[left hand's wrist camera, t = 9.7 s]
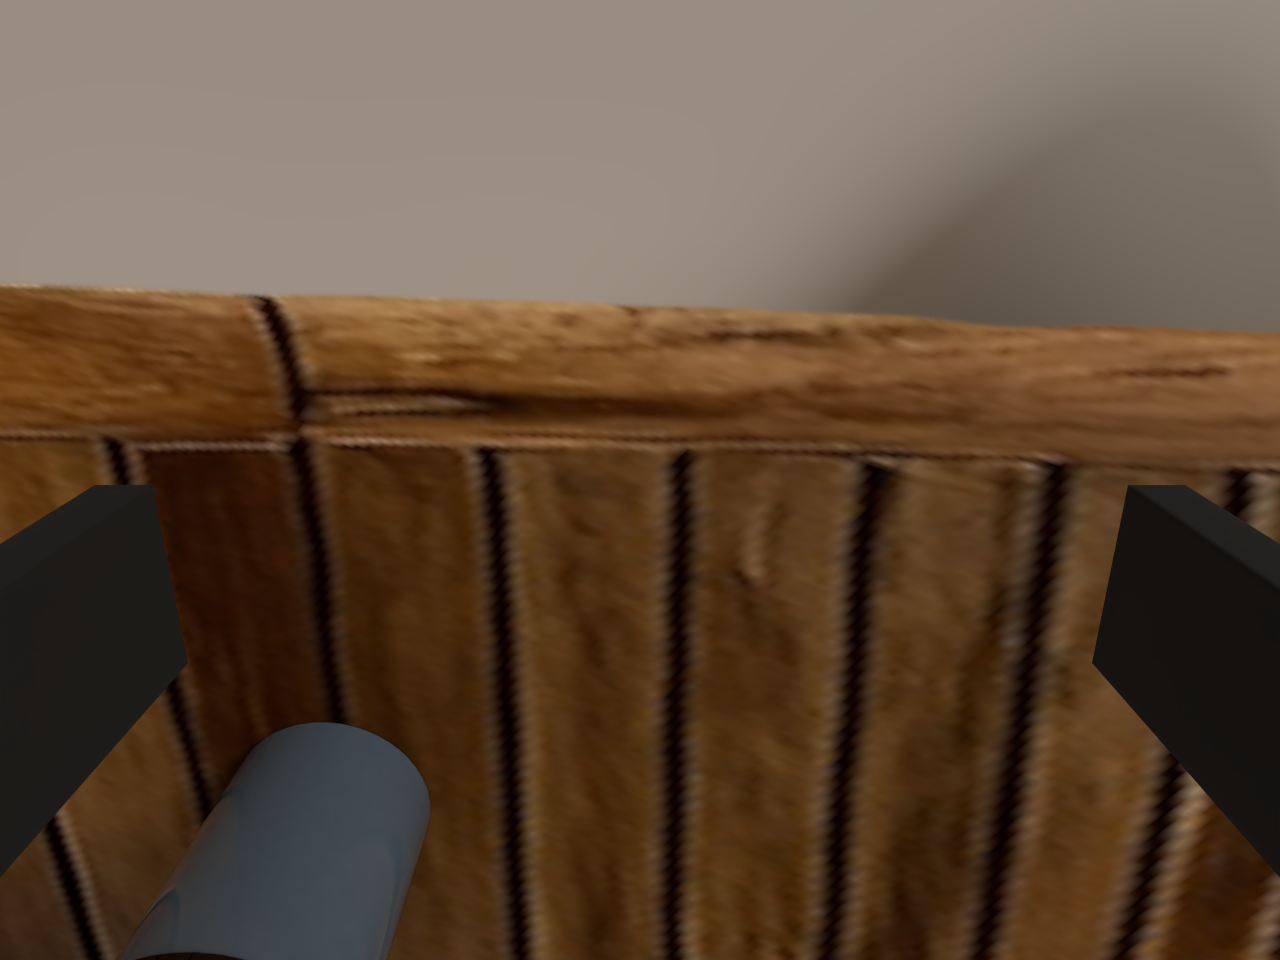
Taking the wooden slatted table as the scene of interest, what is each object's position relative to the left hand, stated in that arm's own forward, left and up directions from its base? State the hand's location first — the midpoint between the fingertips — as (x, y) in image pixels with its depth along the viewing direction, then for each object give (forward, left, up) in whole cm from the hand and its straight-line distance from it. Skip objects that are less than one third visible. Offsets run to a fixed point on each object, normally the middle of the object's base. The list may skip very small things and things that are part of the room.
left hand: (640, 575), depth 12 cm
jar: (-26, +18, -27) cm, 42 cm away
